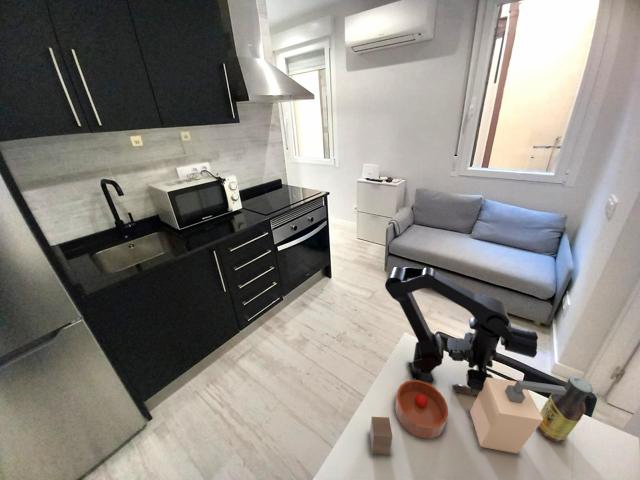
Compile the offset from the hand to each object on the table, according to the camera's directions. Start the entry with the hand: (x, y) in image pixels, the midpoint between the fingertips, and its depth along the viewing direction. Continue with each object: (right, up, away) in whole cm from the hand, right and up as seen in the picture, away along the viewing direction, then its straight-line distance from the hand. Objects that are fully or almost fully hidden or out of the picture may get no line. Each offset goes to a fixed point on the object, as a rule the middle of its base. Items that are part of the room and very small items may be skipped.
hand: (471, 379), depth 77 cm
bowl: (-17, -7, -4) cm, 19 cm away
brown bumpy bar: (-1, -2, +1) cm, 3 cm away
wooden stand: (-30, -11, -11) cm, 34 cm away
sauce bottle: (+15, -9, -9) cm, 20 cm away
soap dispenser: (+2, -9, -9) cm, 13 cm away
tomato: (-16, -4, -3) cm, 17 cm away
